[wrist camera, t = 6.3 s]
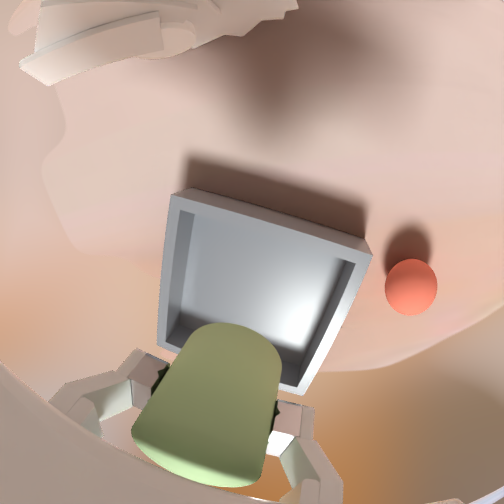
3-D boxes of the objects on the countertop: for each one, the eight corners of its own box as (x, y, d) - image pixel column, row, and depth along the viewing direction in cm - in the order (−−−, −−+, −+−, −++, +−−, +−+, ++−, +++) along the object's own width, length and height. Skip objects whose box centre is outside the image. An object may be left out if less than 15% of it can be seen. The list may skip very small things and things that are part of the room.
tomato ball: (434, 259, 22) (454, 282, 18) (413, 303, 24) (427, 331, 20) (392, 243, 23) (407, 265, 18) (372, 290, 25) (381, 318, 20)
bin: (364, 238, 23) (372, 255, 19) (306, 370, 29) (302, 395, 26) (191, 187, 25) (170, 194, 21) (172, 324, 31) (156, 344, 28)
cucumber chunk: (295, 342, 11) (280, 453, 6) (265, 405, 12) (243, 495, 8) (191, 308, 11) (125, 398, 6) (181, 377, 13) (135, 456, 8)
